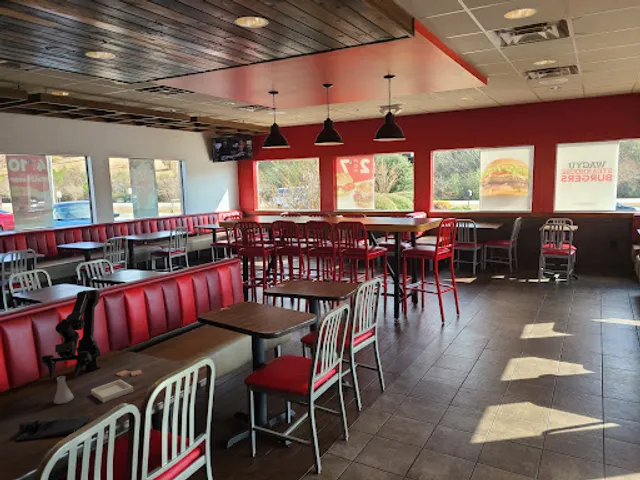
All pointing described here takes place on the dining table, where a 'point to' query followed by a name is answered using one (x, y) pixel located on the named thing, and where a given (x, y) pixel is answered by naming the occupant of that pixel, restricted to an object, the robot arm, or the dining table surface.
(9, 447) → the dining table surface
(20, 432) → the black crumpled cloth
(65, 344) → the robot arm
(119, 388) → the tray
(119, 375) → the tile
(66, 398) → the flask
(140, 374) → the tile
